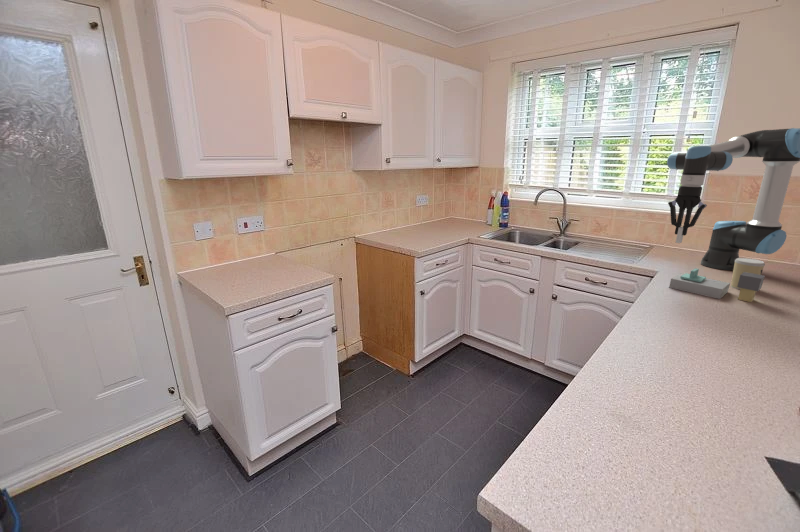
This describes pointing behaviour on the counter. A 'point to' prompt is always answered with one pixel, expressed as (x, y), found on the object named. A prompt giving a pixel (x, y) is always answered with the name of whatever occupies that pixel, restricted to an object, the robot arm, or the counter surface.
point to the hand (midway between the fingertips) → (678, 242)
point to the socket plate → (700, 286)
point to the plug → (749, 285)
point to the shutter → (693, 276)
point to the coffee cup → (745, 269)
